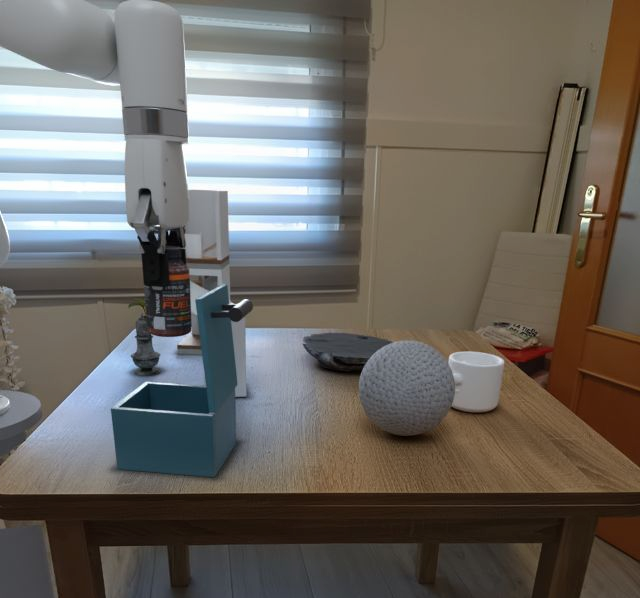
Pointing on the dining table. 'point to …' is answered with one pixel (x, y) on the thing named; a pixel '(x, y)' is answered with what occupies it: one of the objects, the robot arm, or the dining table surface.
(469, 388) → the mug
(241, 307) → the case lid
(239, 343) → the milk carton
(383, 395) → the decorative ball
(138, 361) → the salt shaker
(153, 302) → the supplement bottle
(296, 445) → the dining table surface
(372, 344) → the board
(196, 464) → the case
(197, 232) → the display case
